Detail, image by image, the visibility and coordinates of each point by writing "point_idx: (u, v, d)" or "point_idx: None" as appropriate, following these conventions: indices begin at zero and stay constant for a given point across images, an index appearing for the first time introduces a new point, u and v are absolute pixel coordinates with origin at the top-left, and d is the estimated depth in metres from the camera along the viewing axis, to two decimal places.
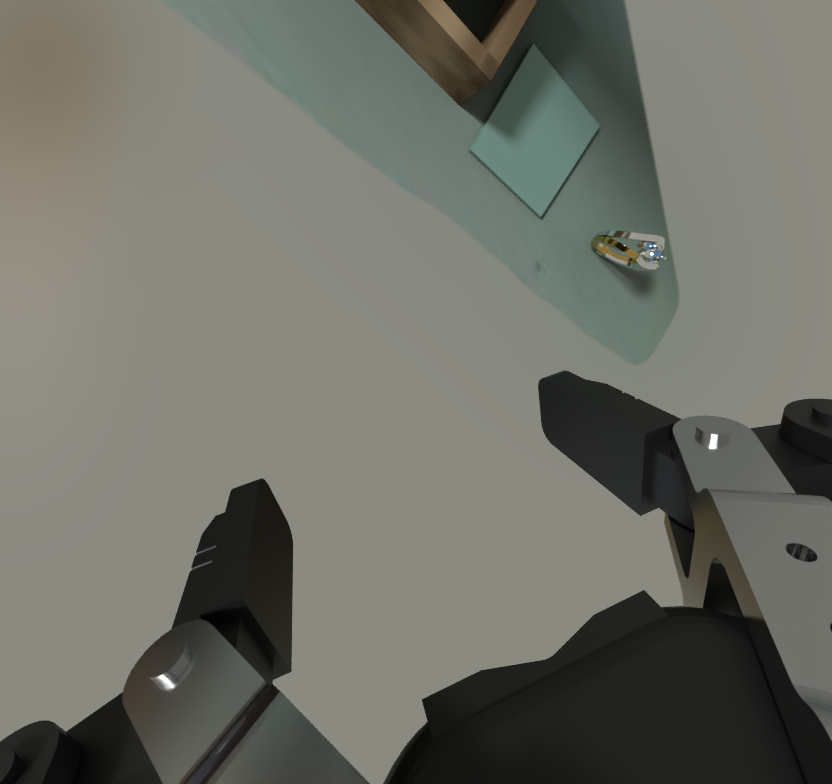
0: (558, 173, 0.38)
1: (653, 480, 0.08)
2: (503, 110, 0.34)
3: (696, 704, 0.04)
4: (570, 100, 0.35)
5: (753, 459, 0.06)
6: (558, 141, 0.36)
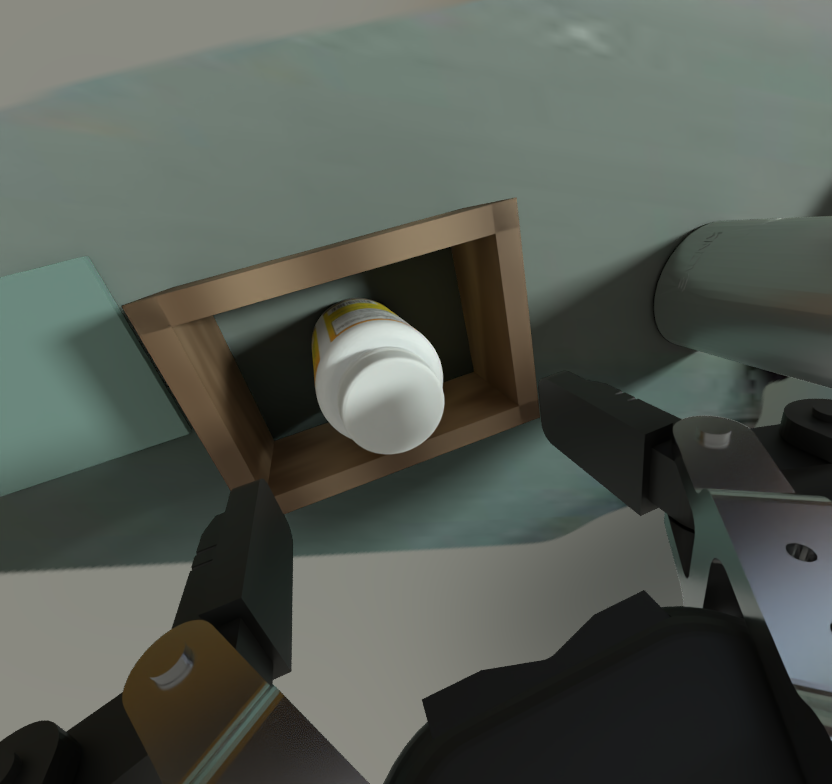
0: None
1: (653, 480, 0.08)
2: (120, 349, 0.19)
3: (696, 704, 0.04)
4: (74, 460, 0.20)
5: (753, 459, 0.06)
6: (8, 419, 0.19)
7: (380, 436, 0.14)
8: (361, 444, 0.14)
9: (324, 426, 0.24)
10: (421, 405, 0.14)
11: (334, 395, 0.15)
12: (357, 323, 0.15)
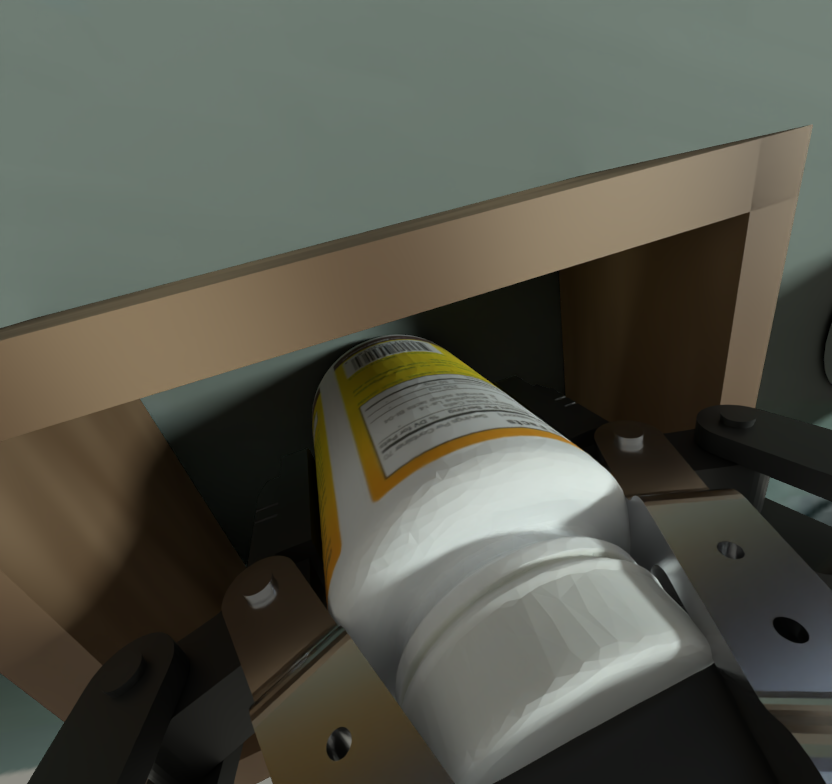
0: None
1: None
2: None
3: (696, 704, 0.04)
4: None
5: (657, 462, 0.06)
6: None
7: None
8: None
9: None
10: None
11: (383, 654, 0.05)
12: (444, 446, 0.06)
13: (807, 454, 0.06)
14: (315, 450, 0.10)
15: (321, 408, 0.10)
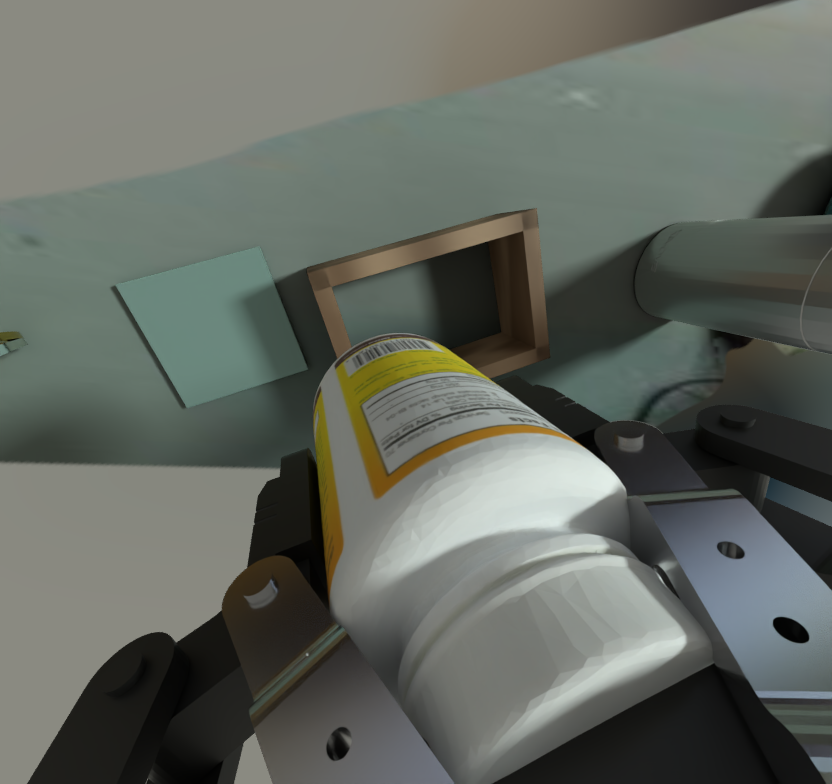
0: (161, 336, 0.28)
1: None
2: (273, 308, 0.29)
3: (696, 704, 0.04)
4: (235, 384, 0.30)
5: (657, 462, 0.06)
6: (200, 353, 0.29)
7: None
8: None
9: None
10: None
11: (385, 651, 0.05)
12: (446, 443, 0.06)
13: (807, 454, 0.06)
14: (316, 448, 0.10)
15: (322, 406, 0.10)
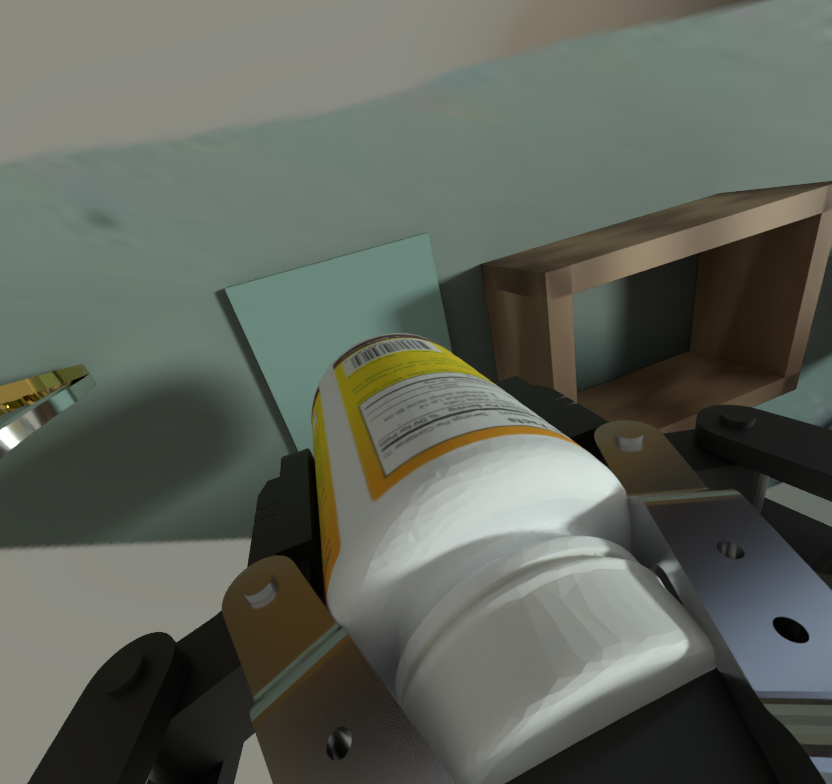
0: (281, 364, 0.19)
1: None
2: (433, 321, 0.20)
3: (696, 704, 0.04)
4: None
5: (656, 462, 0.06)
6: None
7: None
8: None
9: None
10: None
11: (382, 654, 0.05)
12: (444, 444, 0.06)
13: (807, 454, 0.06)
14: (314, 449, 0.10)
15: (320, 407, 0.10)
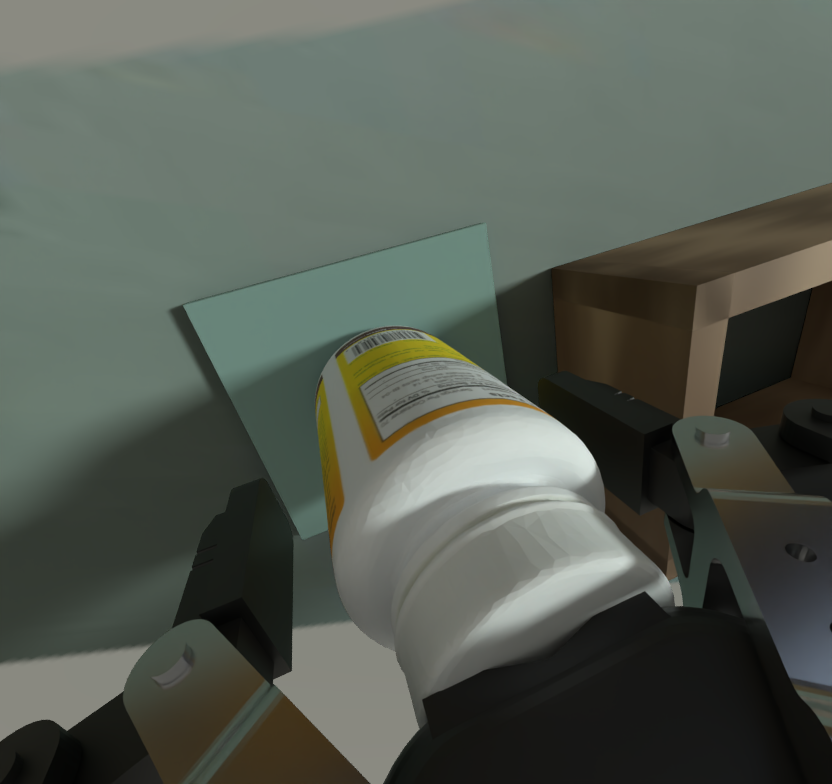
0: (271, 412, 0.13)
1: (653, 480, 0.08)
2: (484, 348, 0.14)
3: (696, 704, 0.04)
4: None
5: (752, 459, 0.06)
6: None
7: None
8: None
9: None
10: None
11: (380, 591, 0.06)
12: (433, 413, 0.06)
13: None
14: (318, 430, 0.10)
15: (324, 392, 0.11)
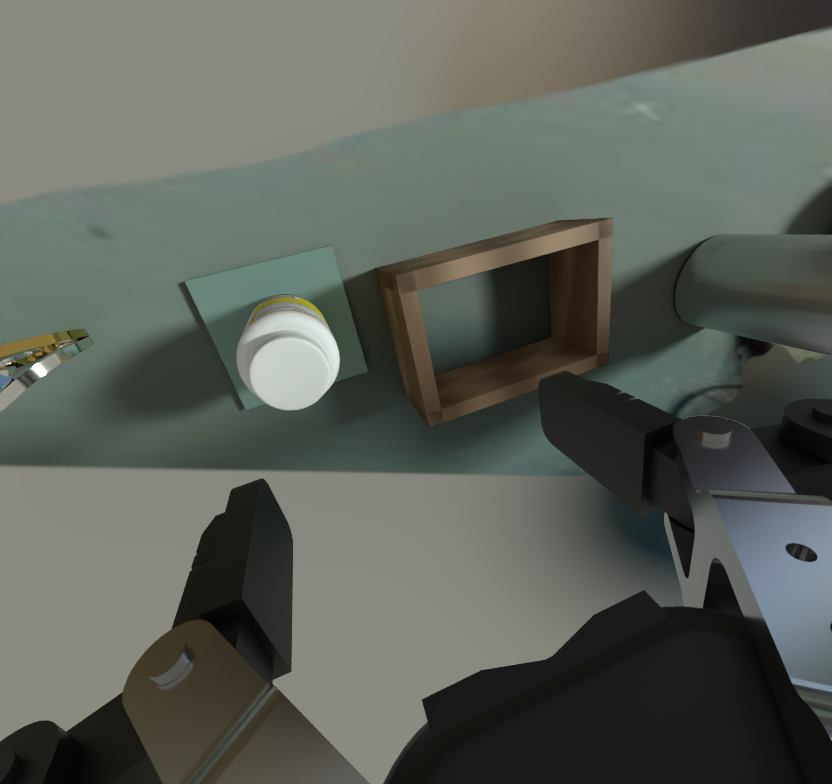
0: (226, 336, 0.27)
1: (653, 480, 0.08)
2: (340, 308, 0.28)
3: (696, 704, 0.04)
4: None
5: (753, 459, 0.06)
6: None
7: (280, 396, 0.19)
8: (266, 401, 0.19)
9: (451, 371, 0.33)
10: (311, 374, 0.19)
11: None
12: (269, 312, 0.20)
13: None
14: None
15: None
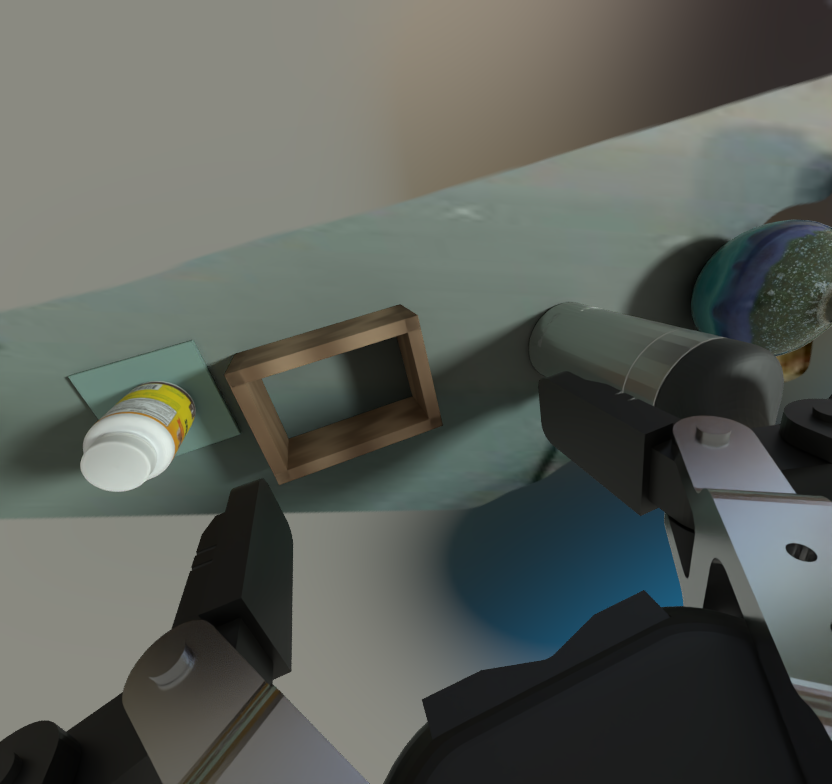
0: None
1: (653, 480, 0.08)
2: (206, 387, 0.34)
3: (696, 704, 0.04)
4: None
5: (753, 459, 0.06)
6: None
7: (110, 482, 0.25)
8: (98, 487, 0.25)
9: (319, 429, 0.39)
10: (133, 465, 0.25)
11: None
12: (108, 415, 0.26)
13: None
14: None
15: None
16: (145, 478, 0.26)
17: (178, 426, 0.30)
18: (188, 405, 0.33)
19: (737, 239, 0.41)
